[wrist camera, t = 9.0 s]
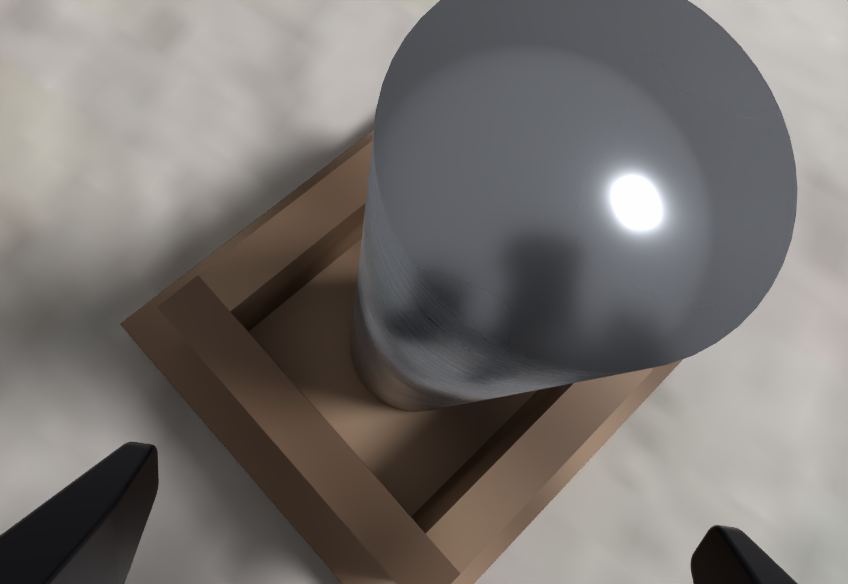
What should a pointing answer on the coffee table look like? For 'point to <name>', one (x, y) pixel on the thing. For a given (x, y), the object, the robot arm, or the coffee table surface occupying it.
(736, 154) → the steel pin
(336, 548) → the walnut box
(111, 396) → the coffee table surface
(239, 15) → the coffee table surface
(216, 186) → the coffee table surface
